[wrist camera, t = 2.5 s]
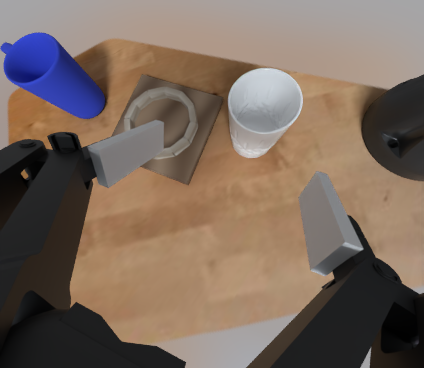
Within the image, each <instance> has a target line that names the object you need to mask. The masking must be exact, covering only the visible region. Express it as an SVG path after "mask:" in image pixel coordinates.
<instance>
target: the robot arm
mask: <svg viewBox="0 0 424 368" xmlns="http://www.w3.org/2000/svg"><path fill="white" fill-rule="evenodd" d="M47 137H48V139H49V142H50V144H51V146H52V148H53V150H51V149H46V147H45V145H44V143H43V142H42V141H40V140H31V139H25V140H22V141H18V142H15V143H13V144H11V145H9V146H7V147H5V148H3V149H2V150H0V368H185V365H186V362H185V361H183V360H181V359H179V358H177V357H175V356H174V355H172V354H170V353H168V352H166V351H164V350H163V349H161V348H159V347H157V346H151V345H143V344H135V343H127V342H122V341H121V340H120V339H119V338H118V337H117V335H116V334H115V333H114V332H113V330H112V329H111V328H110V327H109V325H108V324H107V323H106V322H105V320H104V319H103V318H102V316H101V315H99V314H97V313H95V312H93V311H92V310H90V309H88V308H86V307H84V306H83V305H81V304H79V303H77V302H76V303H75V304H74V305H73V306H72V307H71V308H70V304H71V296H70V281H71V277H72V272H73V268H74V264H75V259H76V255H77V251H78V247H79V242H80V238H81V234H82V229H83V225H84V221H85V217H86V212H87V208H88V204H89V199H90V195H91V191H92V187H93V181H92V179H94V178H95V177H97V180H98V183H99V184H100V185H102V186H105V187H107V188H109V187H111V186H112V185H113V184H115V183H116V182H118V181H119V180H121V179H122V178H124V177H125V176H127V175H128V174H130V173H131V172H133V171H134V170H136V169H137V168H138V167H140V166H141V165H143V164H144V163H146V162H147V161H149V160H150V159H152V158H153V157H155V156H156V155H158V154H159V153H161V152H162V151H164V122H162V121H158V120H154V121H152V122H149V123H146V124H144V125H141V126H139V127H136V128H133V129H131V130H128V131H126V132H123V133H121V134H118V135H115V136H113V137H109V138H106V139H104V140H101V141H99V142H96V143H93V144H91V145H88V146H85V147H83V148H81V145H80V142H79V139H78V135H76V134H75V133H71V132H58V133H53V134H50V135H49V136H47ZM363 137H364V140H365V143H366V146H367V148H368V150H369V151H370V153H371V154H372V156H373V157H374V158H375V159H376V160H377V161H378V162H379V163H380V164H381V165H382V166H383V167H385V168H386V169H388V170H389V171H391V172H393V173H395V174H397V175H399V176H401V177H404V178H407V179H411V180H417V181H424V75H421V76H419V77H417V78H414V79H410V80H408V81H406V82H403V83H401V84H398V85H397V86H395V87H393V88H392V89H390V90H389V91H387V92H386V93H385V94H383V95H382V96H381V97H379V98H378V99H377V100H376V101H374V102H373V103H372V105H371V106H370V107H369V109H368V110H367V112H366V114H365V117H364V120H363ZM24 169H25V171H26V173H27V174H28V176H29V177H28V178H27V179H24V178H23V176H22V175H21V172H22V171H23V170H24ZM298 198H299V204H300V210H301V216H302V222H303V228H304V234H305V240H306V246H307V252H308V258H309V264H310V270H311V271H313V272H316V273H318V274H321V275H323V276H326V275H328V274H329V273H330V272H332V271H333V275H334V278H335V279H333V280H332V281H330V282H329V283H327V284H325V285H324V286H322V288H323V289H322V290H321V291H320V292H319V293H318V294H317V295H316V297H315V298H314V299H313V300H312V301H311V302H310V303H309V304H308V305H307V306H306V307H305V308H304V309H303V310H302V311H301V312H300V313H299V314H298V315H297V316H296V317H295V318H294V319H293V320H292V321H291V322H290V323H289V325H287V326H286V327H285V329H283V330H282V332H281V333H280V334H279V335H278V336H277V337H276V338H275V339H274V340H273V341H272V342H271V343H270V344H269V345H268V346H267V347H266V348H265V349H264V350H263V351H262V352H261V353H260V354H259V355H258V356H257V357H256V358H255V359H254V361H252V363H250V364H249V365H248V366H247V367H246V368H360V367H361V364H362V363H363V361H364V359H365V357H366V355H367V353H368V351H369V349H370V348H371V357H370V368H424V293H422V294H418V293H417V292H415V291H413V290H412V289H410V288H408V287H407V286H405V285H404V284H402V281H401V279H400V277H399V276H398V274H397V273H396V272H395V271H394V270H393V269H392V268H391V267H390V266H389V265H388V264H386V263H385V262H383V261H382V260H380V259H378V258H376V257H375V255H374V253H373V251H372V249H371V247H370V246H369V244H368V242H367V240H366V238H364V237H365V236H364V234H363V232H361V231H362V230H361V229H360V227H359V225H358V223H357V222H356V221H355V220H354V219H353V218H352V217H351V216H349V215H347V214H346V212H345V210H344V208H343V206H342V204H341V202H340V199H339V197H338V195H337V193H336V191H335V189H334V187H333V185H332V183H331V181H330V179H329V177H328V175H327V174H325V173H322V172H318V171H317V172H316V173H315V174H314V176H313V177H312V179H311V180H310V182H309V183H308V184H307V186H306V187H305V189H304V190H303V192H302V193H301V194H300V196H299V197H298Z"/></svg>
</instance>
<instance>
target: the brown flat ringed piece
mask: <svg viewBox="0 0 424 368" xmlns="http://www.w3.org/2000/svg"><path fill="white" fill-rule="evenodd" d="M222 104H223V97H219V96H216V95H212V94H209V93H205V92H202V91H198V90H195V89H191V88H188V87H184V86H181V85H177V84H174V83H171V82H167V81H164V80H160V79H157V78H153V77H150V76H146V75H143V74H142V75H141V78H140V80H139V82H138V84H137V86H136V88H135V90H134V92H133V94H132V96H131V98H130V100H129V102H128V104H127V106H126V108H125V110H124V112H123V114H122V116H121V118H120V120H119V122H118V124H117V126H116V128H115V130H114V132H113V134H112V136H111V137H113V136H115V135H118V134H121V133H123V132H126V131H128V130H131V129H133V128H136V127H139V126H141V125H144V124H146V123H149V122H152V121H154V120H158V121H162V122H164V151H162V152H161V153H159V154H158V155H156V156H155V157H153V158H152V159H150V160H149V161H147V162H146V163H144V164H143V165H141V166H140V167H143V168H145V169H148V170H150V171H153V172H156V173H158V174H161V175H163V176H166V177H169V178H171V179H174V180H176V181H179V182H182V183H184V184H187V185H189V183H190V181H191V178H192V176H193V174H194V171H195V169H196V166H197V164H198V162H199V159H200V157H201V154H202V152H203V150H204V147H205V145H206V142H207V140H208V137H209V135H210V133H211V130H212V128H213V125H214V123H215V121H216V118H217V116H218V113H219V111H220V108H221V106H222Z"/></svg>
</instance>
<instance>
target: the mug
mask: <svg viewBox="0 0 424 368" xmlns="http://www.w3.org/2000/svg"><path fill="white" fill-rule="evenodd" d="M1 50H2V51H3V52H4V53H5V54H6V57H5V60H4V72H5V74H6V76H7V78H8V79H9V80H10V81H11V82H12V83H14V84H16V85H18V86H19V87H21V88H23V89H25V90H27V91H29V92H31V93H33V94H34V95H36V96H38V97H40V98H42V99H44V100H46V101H48V102H50V103H51V104H53V105H55V106H57V107H59V108H61V109H63V110H65V111H67V112H68V113H70V114H72V115H74V116H76V117H79V118H83V119H89V118H93V117H95V116H97V115H98V114H99V113H100V112H101V111H102V110H103V108H104V105H105V97H104V94H103V92H102V91H101V89H100V88H99V87H98V86H97V85H96V83H95V82H94V81H93V80H92V79H91V78H90V77H89V76H88V75H87V73H86V72H85V71H84V70H83V69H82V68H81V67H80V66H79V65H78V63H77V62H76V61H75V60H74V59H73V58H72V57H71V56H70V55H69V54H68V53H67V51H66V50H65V49H64V48H63V47H62V46H61V45H60V44H59V42H58V41H57V40H56V39H55V38H54V37H52V36H50V35H49V34H46V33H32V34H28V35H26V36H24V37H22V38H21V39H19V40H18V41H17V42H15V43H14V44H13V45H12V44H9V43H4V44H3V45H2V46H1Z"/></svg>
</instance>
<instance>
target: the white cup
mask: <svg viewBox="0 0 424 368" xmlns="http://www.w3.org/2000/svg"><path fill="white" fill-rule="evenodd" d="M302 104H303V96H302V92H301V89H300V87H299V85H298V83H297V82H296V81H295V80H294V79H293V78H292V77H291V76H290V75H288V74H287V73H285V72H283V71H281V70H278V69H273V68H259V69H254V70H251V71H249V72H247V73H245V74H243V75H242V76H241V77H239V78H238V79H237V80H236V81H235V83H234V84H233V86H232V87H231V89H230V92H229V96H228V111H229V127H230V135H231V141H232V145H233V148H234V149H235V150H236V151H237V153H238V154H239V155H241V156H244V157H246V158H258V157H260V156H262V155H264V154H266V152H267V151H268V150H269V149H270V148H271V147H272V146H273V145H274V144H275V143H276V142H277V141H278V140H279V139H280V138H281V137H282V135H283V134H284V133H285V132H286V130H287V129H288V128H289V127H290V126H291V125H292V123H293V122H294V121H295V120H296V119H297V117H298V116H299V114H300V112H301V109H302Z"/></svg>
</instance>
